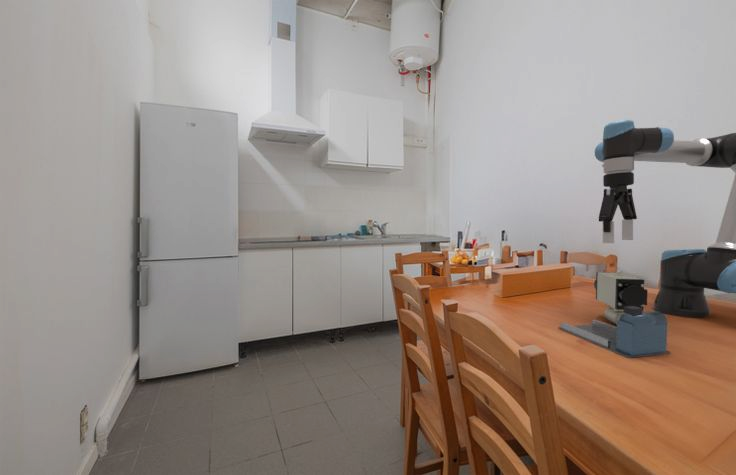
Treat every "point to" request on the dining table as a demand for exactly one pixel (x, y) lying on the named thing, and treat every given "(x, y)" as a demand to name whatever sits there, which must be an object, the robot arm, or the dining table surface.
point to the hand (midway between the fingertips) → (618, 241)
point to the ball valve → (619, 292)
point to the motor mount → (627, 333)
